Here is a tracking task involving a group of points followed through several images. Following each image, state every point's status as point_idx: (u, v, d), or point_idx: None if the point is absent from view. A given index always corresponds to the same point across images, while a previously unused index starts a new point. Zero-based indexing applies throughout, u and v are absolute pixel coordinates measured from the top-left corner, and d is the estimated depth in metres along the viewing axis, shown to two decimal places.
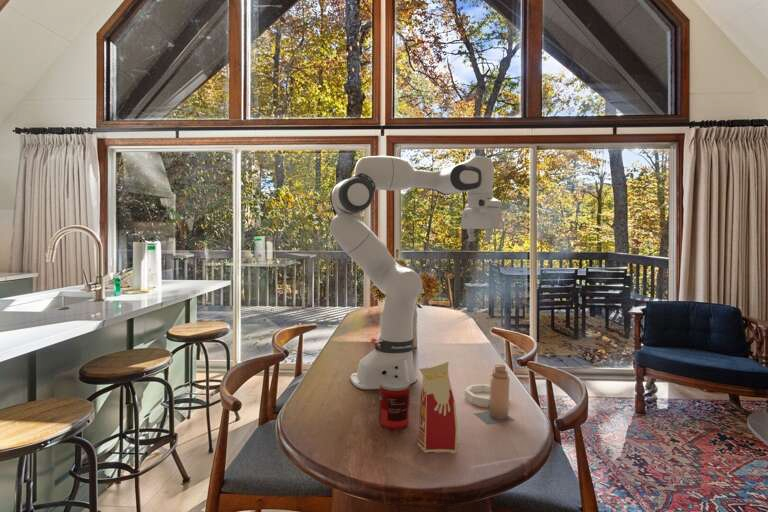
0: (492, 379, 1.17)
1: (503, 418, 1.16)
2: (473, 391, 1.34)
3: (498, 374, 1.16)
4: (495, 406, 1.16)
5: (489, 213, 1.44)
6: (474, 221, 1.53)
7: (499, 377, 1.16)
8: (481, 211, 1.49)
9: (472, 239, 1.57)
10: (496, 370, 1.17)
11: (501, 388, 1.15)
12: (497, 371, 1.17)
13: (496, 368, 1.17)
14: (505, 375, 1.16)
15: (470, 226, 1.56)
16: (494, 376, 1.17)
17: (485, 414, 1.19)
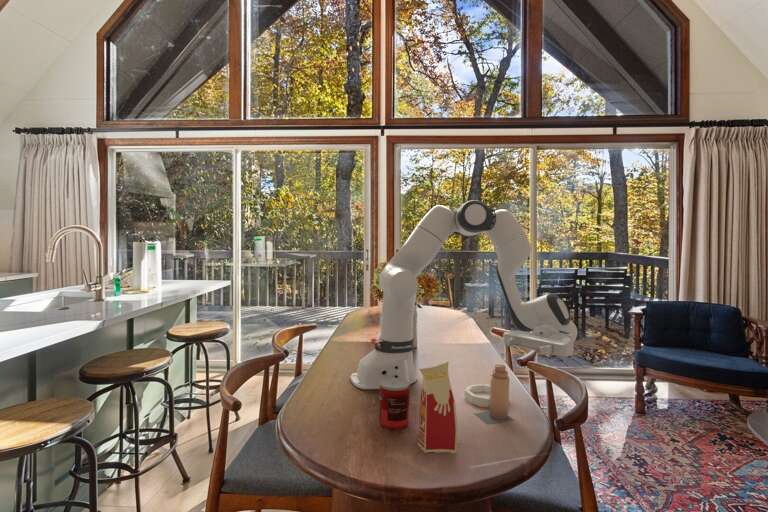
0: (492, 379, 1.17)
1: (503, 418, 1.16)
2: (473, 391, 1.34)
3: (498, 374, 1.16)
4: (495, 406, 1.16)
5: (569, 340, 1.25)
6: (533, 336, 1.31)
7: (499, 377, 1.16)
8: (554, 336, 1.30)
9: (512, 343, 1.29)
10: (496, 370, 1.17)
11: (501, 388, 1.15)
12: (497, 371, 1.17)
13: (496, 368, 1.17)
14: (505, 375, 1.16)
15: (523, 336, 1.32)
16: (494, 376, 1.17)
17: (485, 414, 1.19)
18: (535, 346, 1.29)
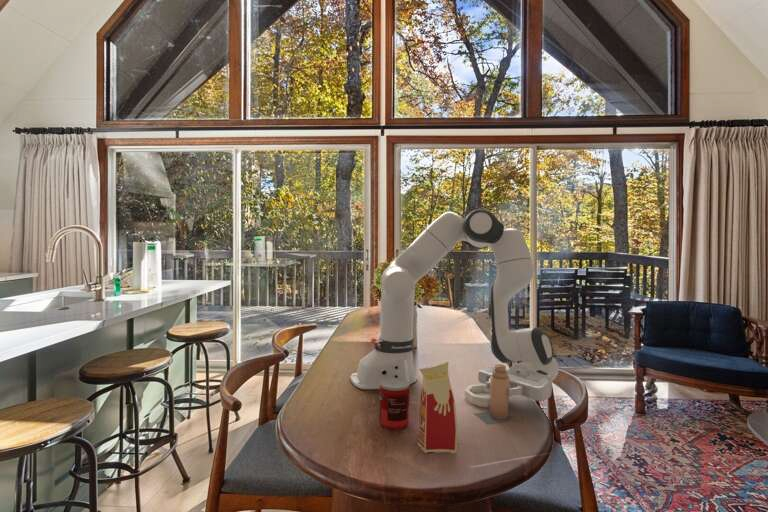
0: (492, 379, 1.17)
1: (503, 418, 1.16)
2: (473, 391, 1.34)
3: (498, 374, 1.16)
4: (495, 406, 1.16)
5: (547, 382, 1.17)
6: (509, 376, 1.23)
7: (499, 377, 1.16)
8: (531, 377, 1.21)
9: None
10: (496, 370, 1.17)
11: (501, 388, 1.15)
12: (497, 371, 1.17)
13: (496, 368, 1.17)
14: (505, 375, 1.16)
15: None
16: (494, 376, 1.17)
17: (485, 414, 1.19)
18: (511, 387, 1.20)
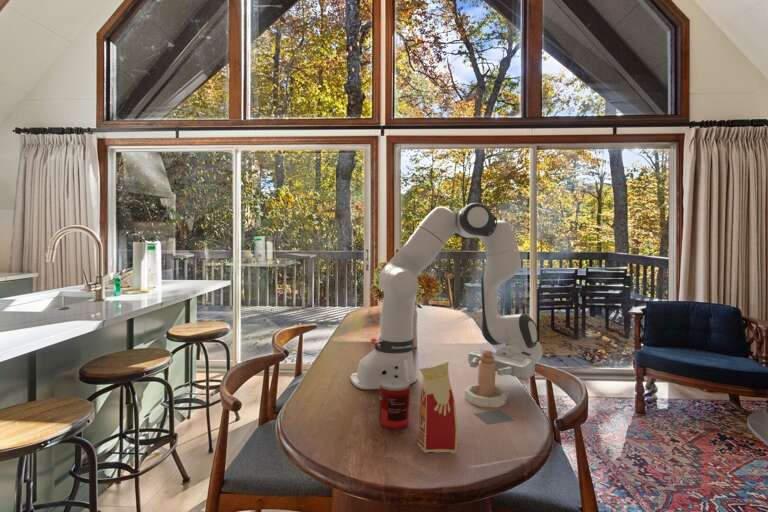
0: (480, 363, 1.29)
1: None
2: (473, 391, 1.34)
3: (485, 359, 1.28)
4: (483, 388, 1.28)
5: (530, 361, 1.29)
6: (496, 357, 1.34)
7: (486, 361, 1.28)
8: (516, 357, 1.33)
9: (475, 363, 1.32)
10: (484, 355, 1.29)
11: (488, 372, 1.27)
12: (485, 356, 1.28)
13: (484, 353, 1.29)
14: (492, 360, 1.28)
15: None
16: (482, 361, 1.29)
17: (485, 414, 1.19)
18: (497, 367, 1.32)
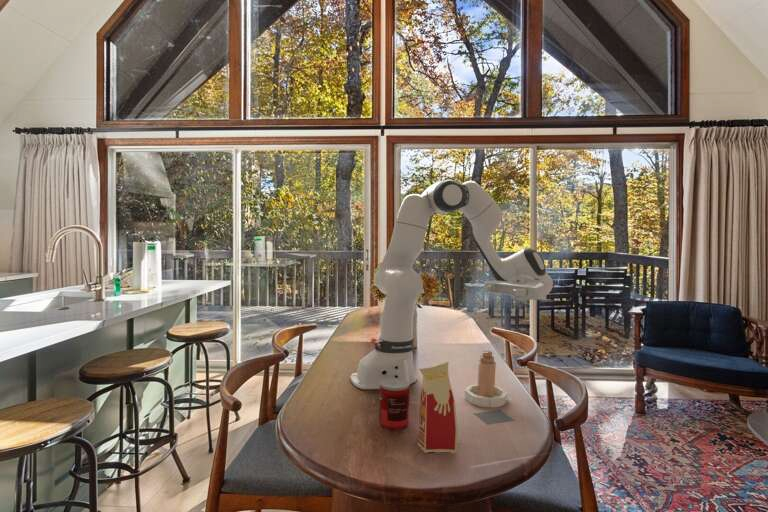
0: (480, 364, 1.29)
1: None
2: (473, 391, 1.34)
3: (485, 359, 1.28)
4: (483, 388, 1.28)
5: (542, 284, 1.38)
6: (510, 283, 1.44)
7: (486, 362, 1.28)
8: (529, 283, 1.42)
9: (491, 288, 1.42)
10: (483, 355, 1.29)
11: (488, 372, 1.27)
12: (484, 356, 1.28)
13: (483, 354, 1.29)
14: (491, 360, 1.28)
15: (501, 283, 1.44)
16: (482, 361, 1.29)
17: (485, 414, 1.19)
18: (512, 291, 1.41)
